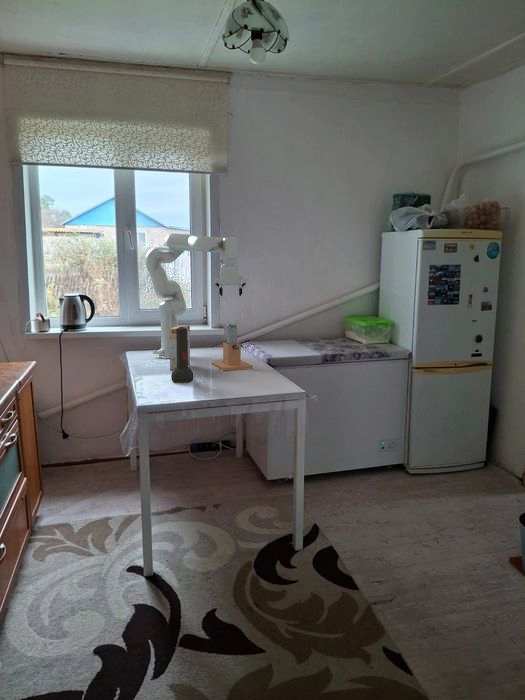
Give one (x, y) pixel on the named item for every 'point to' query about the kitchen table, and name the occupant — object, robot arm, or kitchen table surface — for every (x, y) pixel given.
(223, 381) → the kitchen table surface
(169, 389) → the kitchen table surface
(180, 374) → the flashlight
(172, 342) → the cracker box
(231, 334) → the steel column
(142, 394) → the kitchen table surface
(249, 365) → the stand
